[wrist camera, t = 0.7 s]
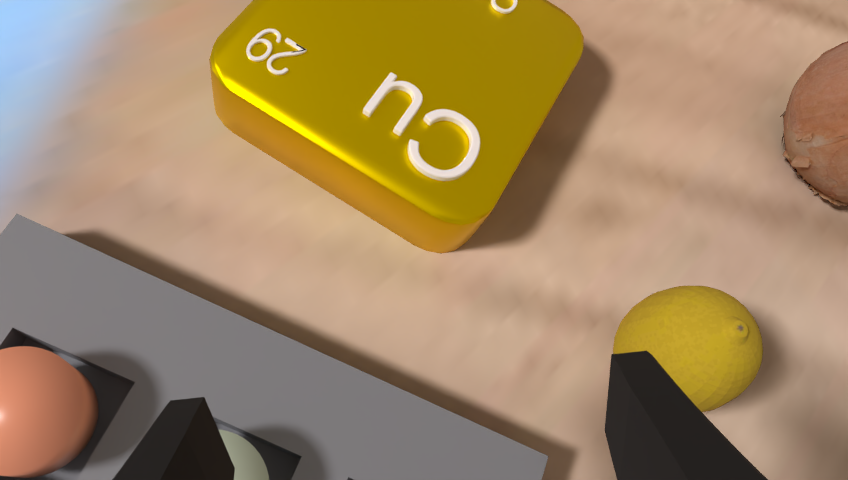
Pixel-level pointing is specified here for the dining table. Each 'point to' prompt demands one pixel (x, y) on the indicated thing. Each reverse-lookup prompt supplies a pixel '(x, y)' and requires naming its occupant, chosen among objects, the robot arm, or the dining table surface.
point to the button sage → (244, 458)
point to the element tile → (397, 100)
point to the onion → (821, 126)
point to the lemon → (696, 341)
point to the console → (224, 376)
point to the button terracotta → (42, 412)
